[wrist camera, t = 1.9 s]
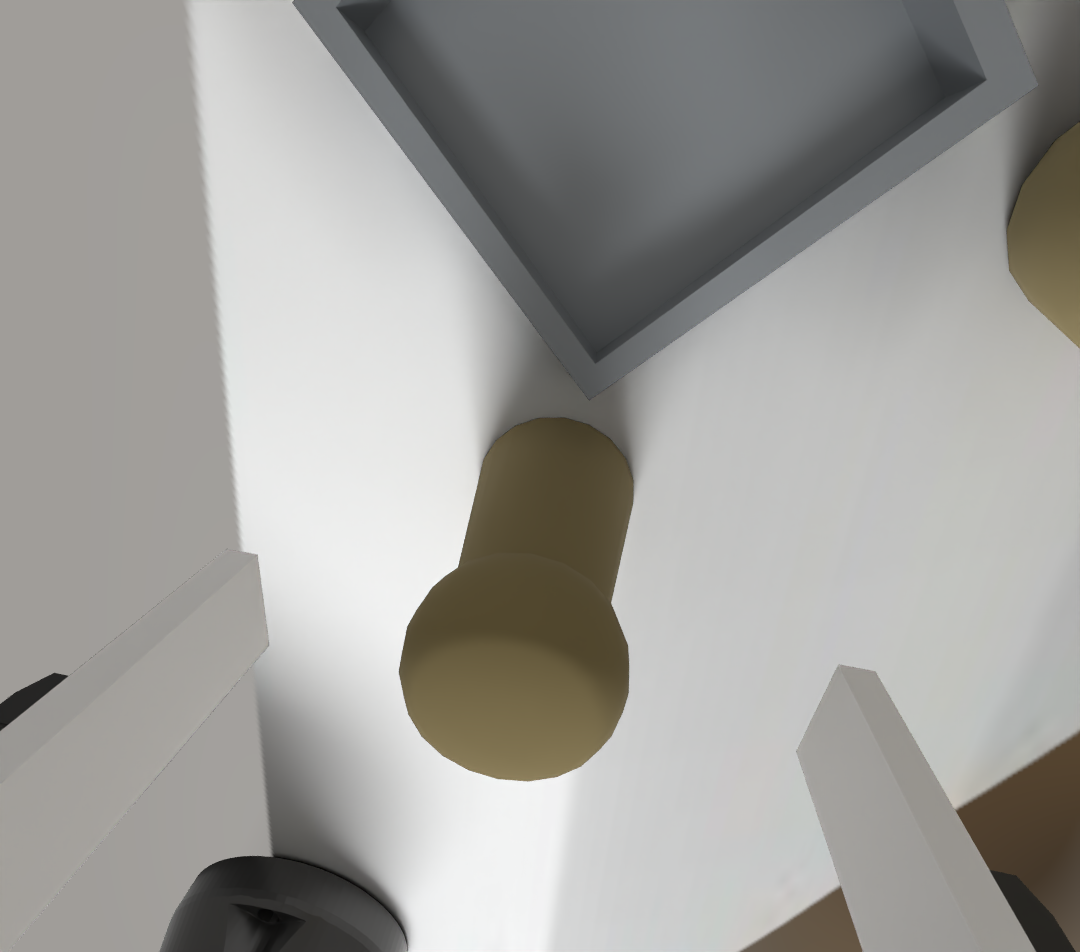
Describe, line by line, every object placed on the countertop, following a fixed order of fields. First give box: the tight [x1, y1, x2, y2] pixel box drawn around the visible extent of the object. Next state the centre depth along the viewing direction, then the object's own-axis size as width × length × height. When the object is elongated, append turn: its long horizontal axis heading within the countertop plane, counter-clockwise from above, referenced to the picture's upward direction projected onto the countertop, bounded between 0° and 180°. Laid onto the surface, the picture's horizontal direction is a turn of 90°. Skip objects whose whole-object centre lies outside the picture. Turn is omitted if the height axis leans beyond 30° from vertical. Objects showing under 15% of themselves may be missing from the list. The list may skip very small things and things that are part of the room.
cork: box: [399, 418, 633, 781], centre depth 16 cm, size 6×6×11 cm
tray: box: [292, 0, 1039, 400], centre depth 14 cm, size 13×13×2 cm
